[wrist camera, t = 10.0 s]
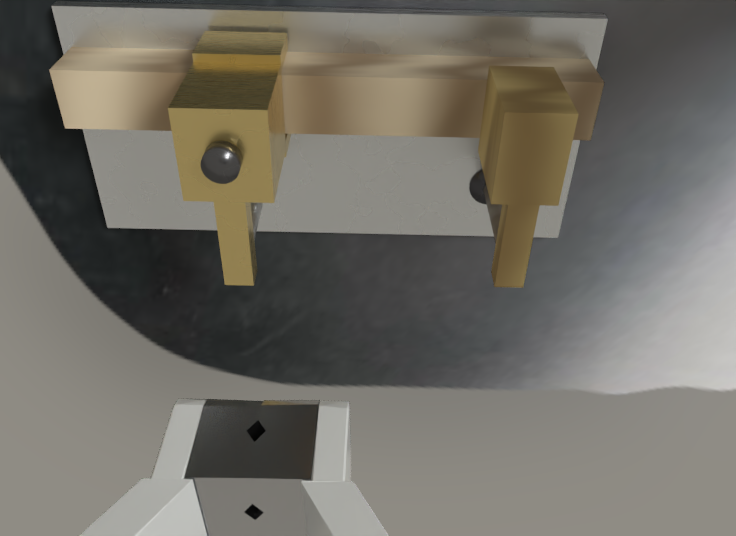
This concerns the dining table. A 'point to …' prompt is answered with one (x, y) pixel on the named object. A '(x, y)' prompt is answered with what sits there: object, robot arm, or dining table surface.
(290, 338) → the dining table surface
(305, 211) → the flange plate
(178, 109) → the sliding leg
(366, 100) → the trammel beam
